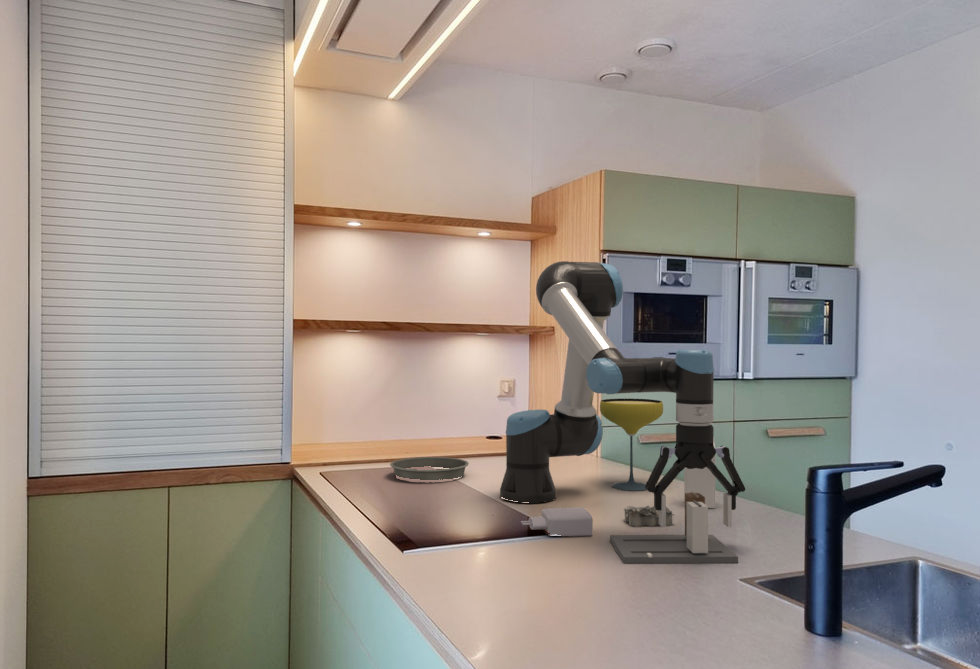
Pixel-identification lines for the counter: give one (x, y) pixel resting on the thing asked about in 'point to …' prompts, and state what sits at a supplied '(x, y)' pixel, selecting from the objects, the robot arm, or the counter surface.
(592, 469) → the counter surface
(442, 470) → the cake pan
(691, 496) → the block
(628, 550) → the console
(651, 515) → the egg carton
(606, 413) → the cocktail glass
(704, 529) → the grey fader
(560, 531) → the grey bottle
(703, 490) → the milk carton
